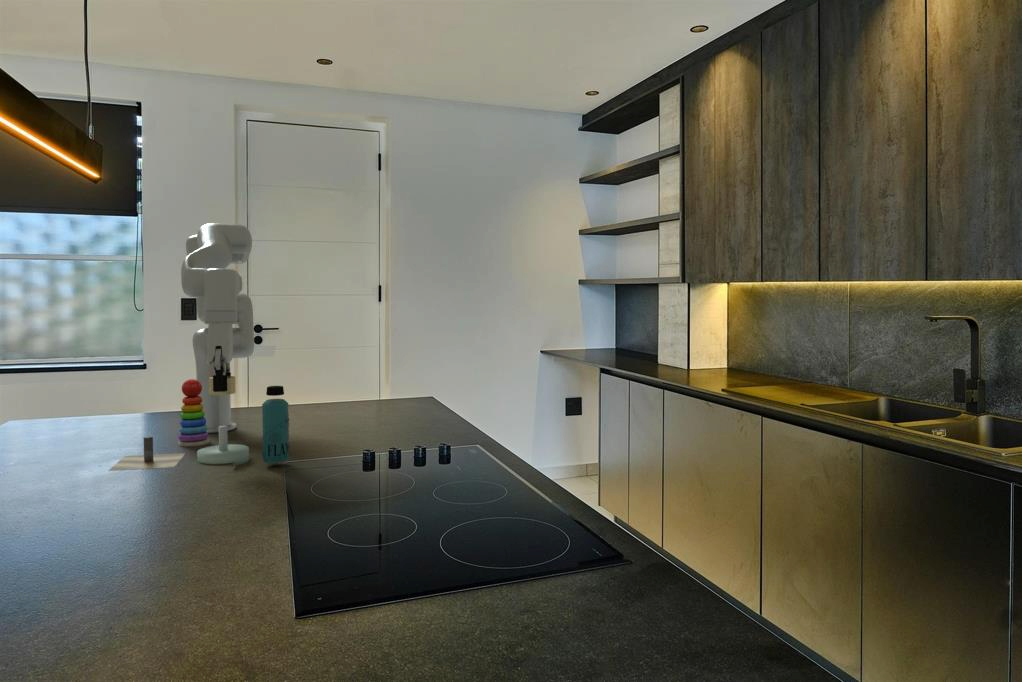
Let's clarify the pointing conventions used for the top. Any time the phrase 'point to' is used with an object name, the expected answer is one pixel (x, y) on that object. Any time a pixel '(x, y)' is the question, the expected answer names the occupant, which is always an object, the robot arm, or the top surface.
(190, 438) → the stacking toy
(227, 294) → the robot arm
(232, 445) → the sage hub
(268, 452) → the beverage bottle
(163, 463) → the oak stand
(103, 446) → the top surface
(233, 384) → the brass ring
